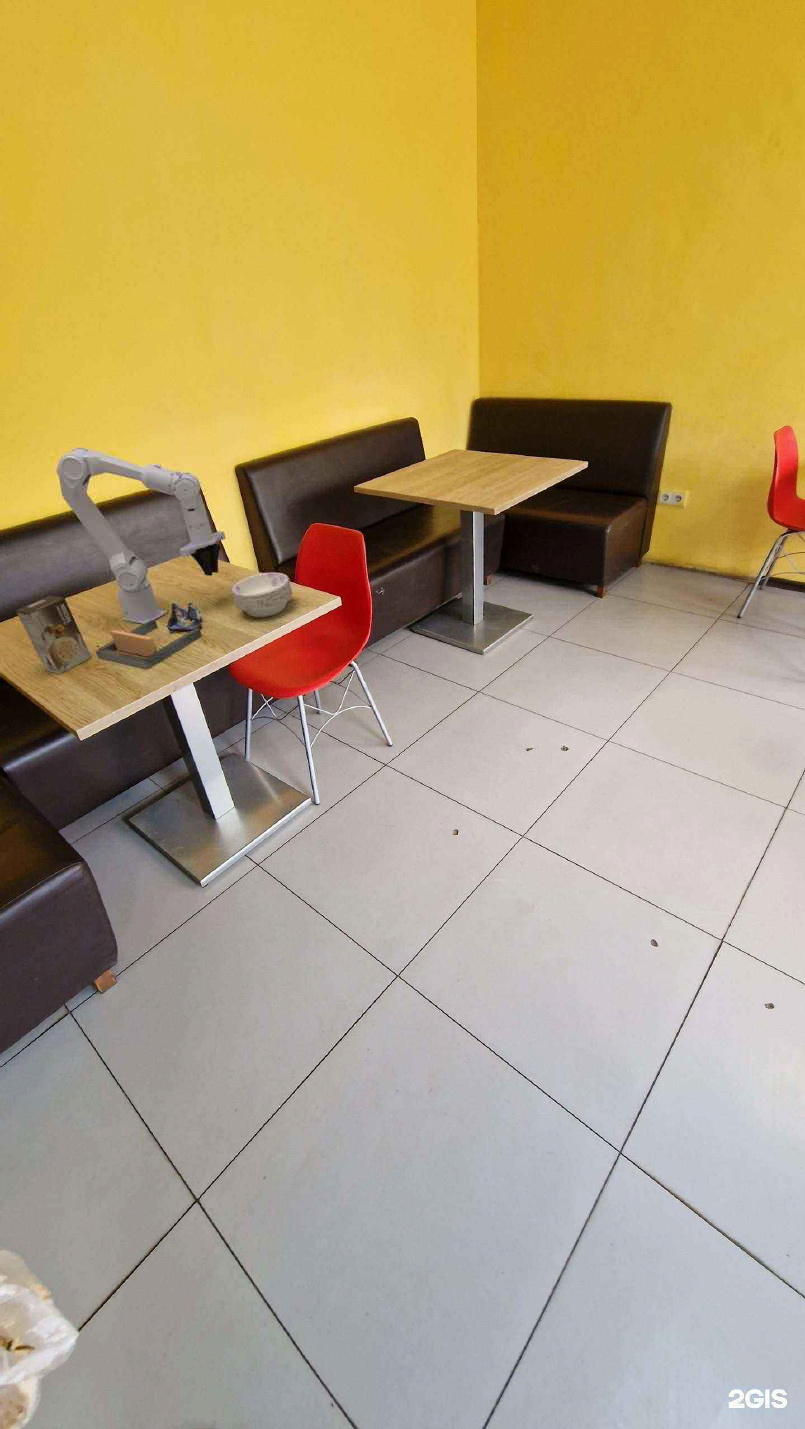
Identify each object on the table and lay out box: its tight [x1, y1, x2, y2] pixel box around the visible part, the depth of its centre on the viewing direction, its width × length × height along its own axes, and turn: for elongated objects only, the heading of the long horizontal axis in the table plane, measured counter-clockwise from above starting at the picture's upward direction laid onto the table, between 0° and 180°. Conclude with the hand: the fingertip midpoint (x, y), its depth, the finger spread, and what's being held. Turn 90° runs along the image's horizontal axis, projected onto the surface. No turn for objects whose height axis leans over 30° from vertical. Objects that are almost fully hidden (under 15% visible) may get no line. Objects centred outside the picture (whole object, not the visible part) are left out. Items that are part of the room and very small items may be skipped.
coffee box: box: [15, 595, 92, 675], centre depth 150 cm, size 9×6×16 cm
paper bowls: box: [231, 572, 293, 618], centre depth 167 cm, size 15×15×8 cm
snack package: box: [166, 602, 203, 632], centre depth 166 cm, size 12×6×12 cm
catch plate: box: [109, 629, 158, 657], centre depth 154 cm, size 14×1×5 cm, turn 61°
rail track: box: [95, 619, 203, 670], centre depth 157 cm, size 18×18×2 cm
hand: (211, 573), depth 170 cm, fingers closed
